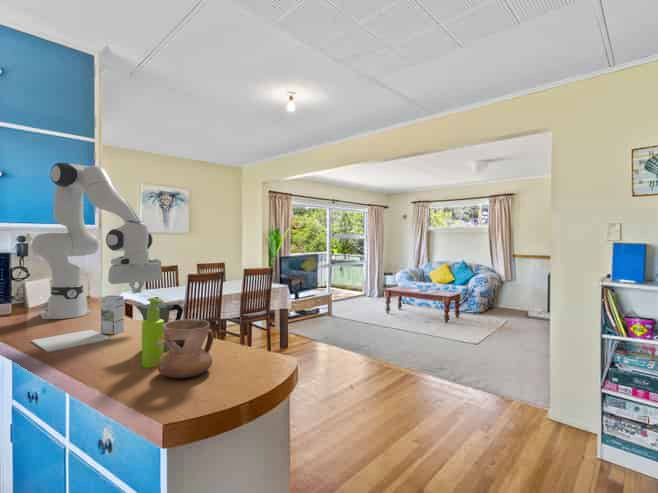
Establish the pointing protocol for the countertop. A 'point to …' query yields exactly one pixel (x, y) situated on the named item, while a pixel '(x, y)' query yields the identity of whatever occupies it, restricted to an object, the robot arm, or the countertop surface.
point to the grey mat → (70, 340)
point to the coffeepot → (162, 313)
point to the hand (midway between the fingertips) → (136, 292)
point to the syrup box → (112, 314)
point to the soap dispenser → (152, 336)
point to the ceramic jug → (185, 348)
